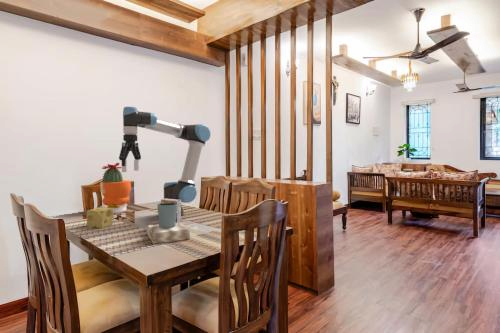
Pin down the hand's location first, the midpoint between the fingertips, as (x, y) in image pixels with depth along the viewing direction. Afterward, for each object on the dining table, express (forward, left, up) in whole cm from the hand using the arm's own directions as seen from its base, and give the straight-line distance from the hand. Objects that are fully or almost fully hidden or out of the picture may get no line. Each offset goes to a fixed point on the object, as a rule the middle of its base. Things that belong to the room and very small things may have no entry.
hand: (130, 171), depth 178 cm
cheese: (+16, -12, -33) cm, 39 cm away
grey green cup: (-15, +26, -28) cm, 41 cm away
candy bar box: (-21, +9, -33) cm, 40 cm away
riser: (-15, +28, -33) cm, 46 cm away
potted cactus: (+4, -56, -33) cm, 65 cm away
